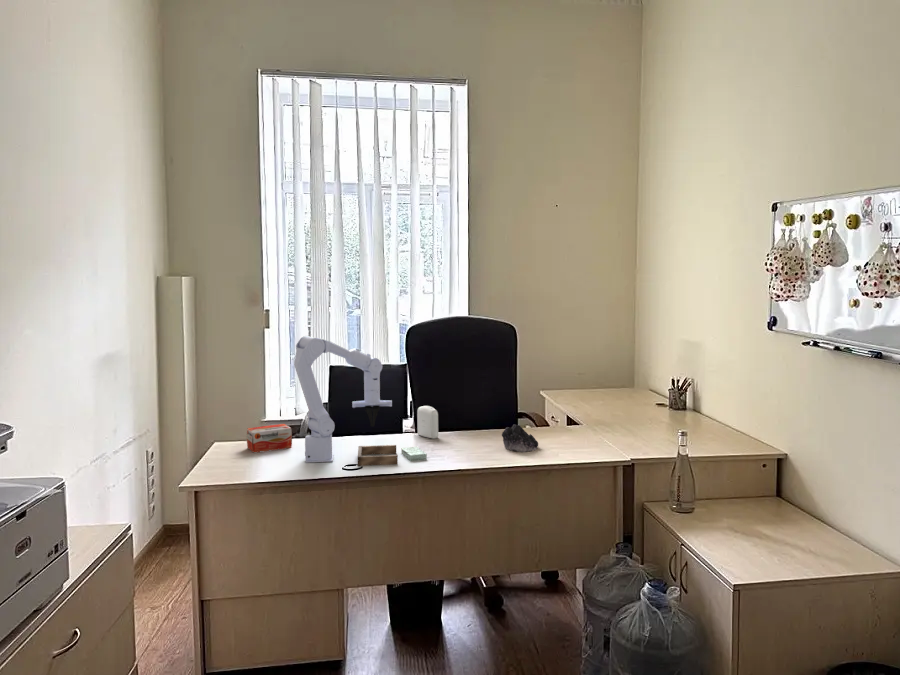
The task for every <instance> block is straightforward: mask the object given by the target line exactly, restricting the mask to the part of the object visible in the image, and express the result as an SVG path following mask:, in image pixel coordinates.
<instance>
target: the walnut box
mask: <svg viewBox="0 0 900 675" xmlns="http://www.w3.org/2000/svg"><path fill="white" fill-rule="evenodd" d="M357 447H358V449H357V466H358V467H359V466H361V467H362V466H386V465H387V466H388V465H389V466H391V465H392V466H393V465H398V463H399V460H398V459H399V458H398V454H397V444H386V445H385V444H382V445H359V446H357Z"/></svg>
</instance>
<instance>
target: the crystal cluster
mask: <svg viewBox="0 0 900 675" xmlns="http://www.w3.org/2000/svg"><path fill="white" fill-rule="evenodd" d="M501 436H502V442H503V446H504V448H505V449H506V450H509V451H515V452H520V453H521V452H522V453H525V452H531V451H533V450H534V451H536V450H537V449H538V447H539V442H538V441H537V440H536V438H535V437H534V436H533V435H532V434H531V433H528V432H527V431H525V429H524V428H523V427H522V426H521V425H519V424H512V426H511V427H508V426H507V427H505V428H504V429H503V432H502V433H501ZM534 451H533V452H534Z"/></svg>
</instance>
